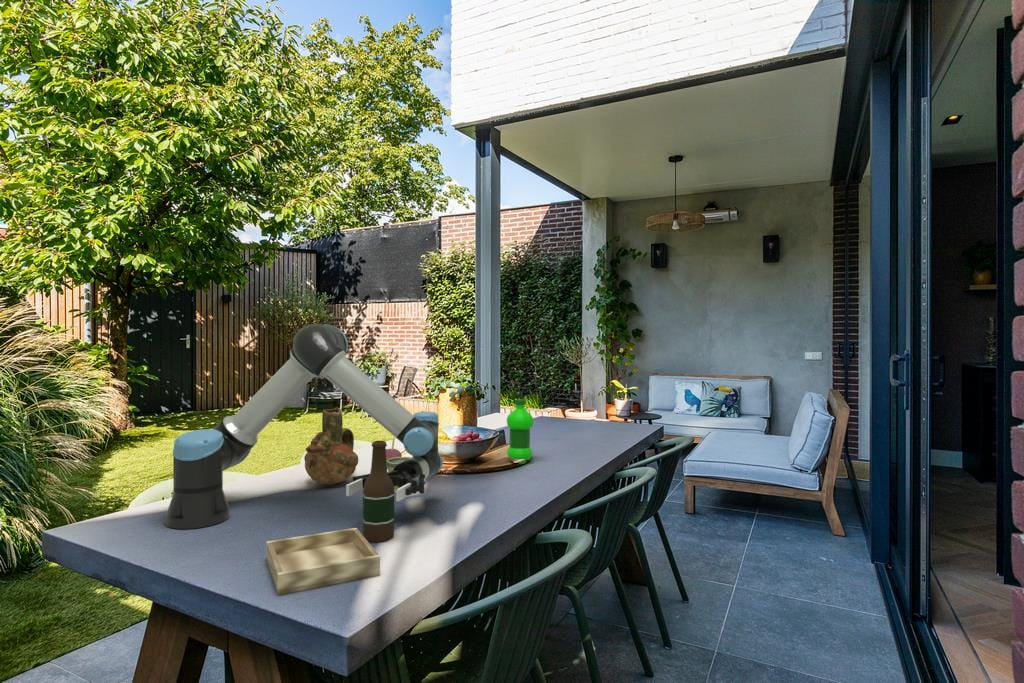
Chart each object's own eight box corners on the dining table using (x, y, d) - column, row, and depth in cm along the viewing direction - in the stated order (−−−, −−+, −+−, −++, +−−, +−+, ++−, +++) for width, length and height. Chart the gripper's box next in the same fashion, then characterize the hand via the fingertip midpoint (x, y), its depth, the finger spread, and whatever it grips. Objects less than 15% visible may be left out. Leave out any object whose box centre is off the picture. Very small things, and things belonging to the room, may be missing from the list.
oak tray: (278, 595, 111) (278, 574, 111) (266, 559, 128) (266, 541, 128) (379, 575, 120) (380, 556, 120) (356, 544, 138) (356, 527, 138)
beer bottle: (396, 532, 146) (397, 438, 146) (391, 543, 139) (392, 444, 138) (366, 532, 146) (366, 438, 146) (358, 543, 138) (359, 444, 138)
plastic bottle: (537, 463, 226) (538, 400, 226) (514, 466, 220) (515, 402, 220) (523, 458, 235) (524, 398, 234) (501, 461, 229) (502, 399, 229)
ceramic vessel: (284, 492, 181) (285, 413, 181) (325, 473, 206) (326, 404, 206) (335, 496, 178) (335, 416, 178) (370, 476, 203) (370, 405, 203)
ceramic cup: (381, 493, 181) (381, 462, 181) (395, 485, 191) (395, 455, 191) (419, 497, 178) (419, 465, 178) (431, 488, 188) (431, 458, 188)
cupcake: (406, 467, 218) (406, 435, 218) (390, 471, 211) (390, 438, 211) (389, 464, 222) (390, 433, 222) (373, 468, 215) (373, 436, 215)
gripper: (452, 490, 156) (419, 513, 136) (370, 482, 163) (327, 503, 143) (452, 462, 156) (419, 481, 136) (370, 456, 163) (327, 473, 143)
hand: (372, 493), depth 139 cm, fingers open, 13 cm apart
